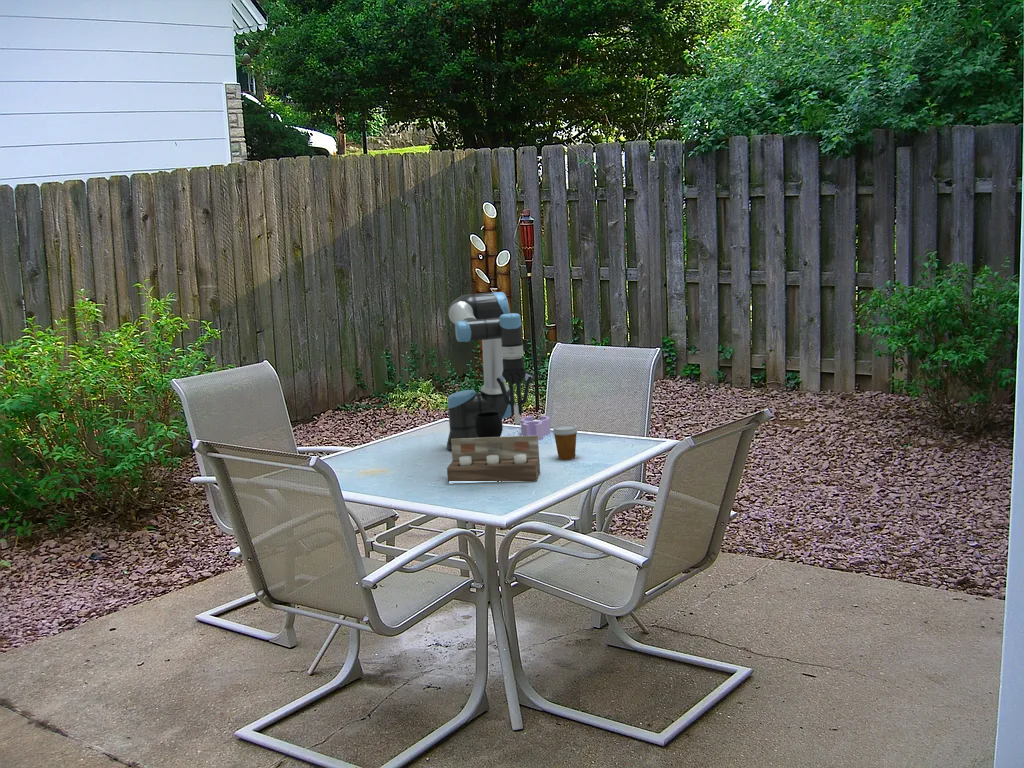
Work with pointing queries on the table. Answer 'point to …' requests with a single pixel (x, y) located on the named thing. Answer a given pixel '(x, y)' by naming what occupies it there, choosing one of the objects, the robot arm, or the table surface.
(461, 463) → the button
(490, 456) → the button middle
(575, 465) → the table surface
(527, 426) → the purple rounded piece
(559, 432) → the disposable coffee cup
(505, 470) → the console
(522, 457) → the button
